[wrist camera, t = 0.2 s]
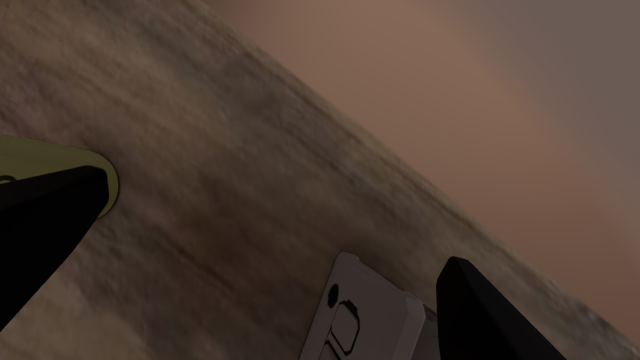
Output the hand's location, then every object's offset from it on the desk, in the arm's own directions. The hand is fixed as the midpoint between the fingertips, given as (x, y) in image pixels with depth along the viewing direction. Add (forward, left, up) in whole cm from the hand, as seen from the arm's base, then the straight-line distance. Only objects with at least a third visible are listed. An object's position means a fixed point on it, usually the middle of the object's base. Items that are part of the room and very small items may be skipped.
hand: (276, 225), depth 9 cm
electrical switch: (-9, -2, -15) cm, 18 cm away
